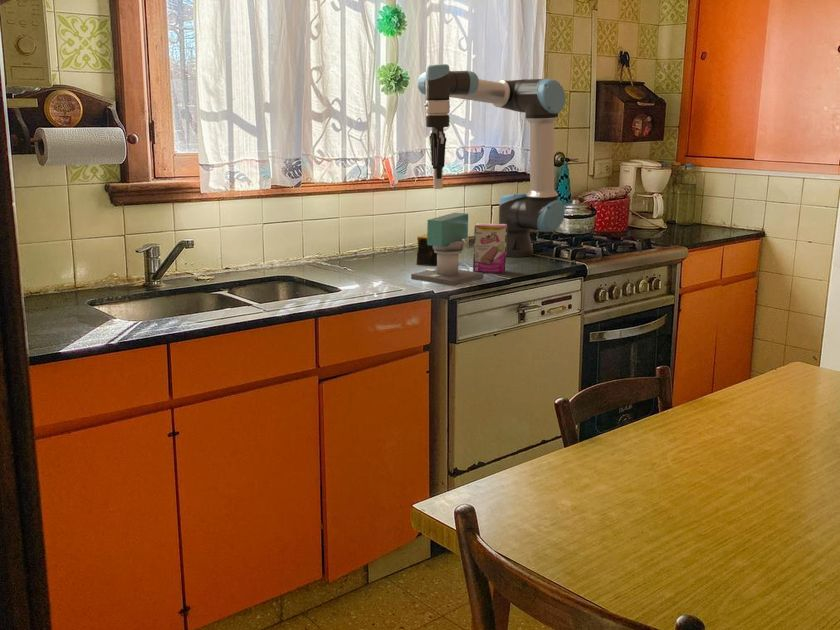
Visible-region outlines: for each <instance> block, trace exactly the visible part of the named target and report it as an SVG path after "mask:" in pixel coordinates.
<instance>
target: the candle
mask: <svg viewBox="0 0 840 630" xmlns="http://www.w3.org/2000/svg"><path fill="white" fill-rule="evenodd" d="M417 245H418V246H417V253H416V265H422V266H432V267H437V253H435V252H434V249H433V246H432V245H427V233H426V234H422V235H420V236H417Z"/></svg>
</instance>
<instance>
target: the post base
mask: <svg viewBox="0 0 840 630" xmlns="http://www.w3.org/2000/svg"><path fill="white" fill-rule="evenodd" d="M434 252H435V253H437V266H436V267H435V268H426V269H425V270H424V271H419V272H414V273H411V275H410V277H411V278H410V279H412V280H418V281H425V282H430V283H436V284H440V285H446V286H451V287H453V286H456V285H457V286H458V285H460V284H461V285H462V284H464V283H468V282H469V283H470V282H472V281H476V280H480V279H483V278H484V273H483V272H473V270H466V269H459V254H462V252H463V251H462V250H460V251H438V250H434Z"/></svg>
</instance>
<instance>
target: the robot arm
mask: <svg viewBox="0 0 840 630" xmlns="http://www.w3.org/2000/svg"><path fill="white" fill-rule="evenodd" d="M417 89H418V90H419V92H420V93H421V94H422V95H425V103H424V104H423V105H424V108H425V113H426V114H427V115H426V116H425V126H426V128H431V132H430V135H429V141H430V157H431V166H432V169H433V170H432V171H433V181H432V182H433V189H434V190H442V189H443V187H444V186H443V183H444V182H443V180H444V179H443V178H444V177H443V168H444V167H445V166H446V165H445V164H446V163H445V162H446V161H445V160H446V159H445V158H446V143H447V137H446V134H445V132H444V129H445V128H449V127H450V115H449V114H450V111H451V110H450V109H451V108H450V106H451V105H450V101H451V100H450V98H452V99H453V98H454V99H459V100H466V101H468V100H469V101H473V102H481V103H487V104H492V105H493V106H494V107H496V108H501V109H505V110H510V111H513V112H518V113H525V120H526V121H527V123H528V124H529V168H530V169H529V179H530V180H529V184H530V185H529V186H530V189H529V191H528V192H525V193H524V192H523V193H514V194H513V193H512V194H503V195H501V196H500V199H499V204H498V208H499V209H498V224H507V245H506V257H508V258H510V257H512V258H515V257H516V258H519V257H520V258H521V257H530V256H533V255H534V248H533V244H532V240H531V237H530V230H533V231H539V232H543V233H544V232H545V233H546V232H548V233H549V232H553V231H556V230H558V229H559V227H560V226H561V225H562V224H563V221H564V219H565V214H566V209H565V206H564V204H563V202H561V201H560V200H559V193H558V192H557V191H556V190H555V122H556V121H557V120H558V119H559V114H560V113H561V112H562V111H563V109H564V107H565V105H566V92H565V89H564V87H563V86H562V85H561V83H560V82H559V81H558V80H556V79H552V78H537V79H536V78H531V79H530V78H529V79H527V78H526V79H515V80H514V79H513V80H512V79H511V80H504V79H499V80H497V81H493V80H486V79H480V78H479V76H478V74H476V72H474V71H472V70H451V69H450V65H449V64H446V63H444V64H443V63H439V64H438V63H437V64H436V63H432V64H427V66H426V67H425V72H423V73H421V74H419V76H418V79H417Z"/></svg>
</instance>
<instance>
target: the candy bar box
mask: <svg viewBox="0 0 840 630" xmlns="http://www.w3.org/2000/svg"><path fill="white" fill-rule="evenodd" d="M506 245H507V224H499V223H486V222H485V223H481V222H478V223H477V222H476V223H474V235H473V260H472V261H473V262H472V263H473V264H472V271H473V272H479V273H483V274H484V273H487V274H489V273H490V274H494V273H495V274H506V267H507V266H506V264H507V263H506V262H507V256H506Z"/></svg>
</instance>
